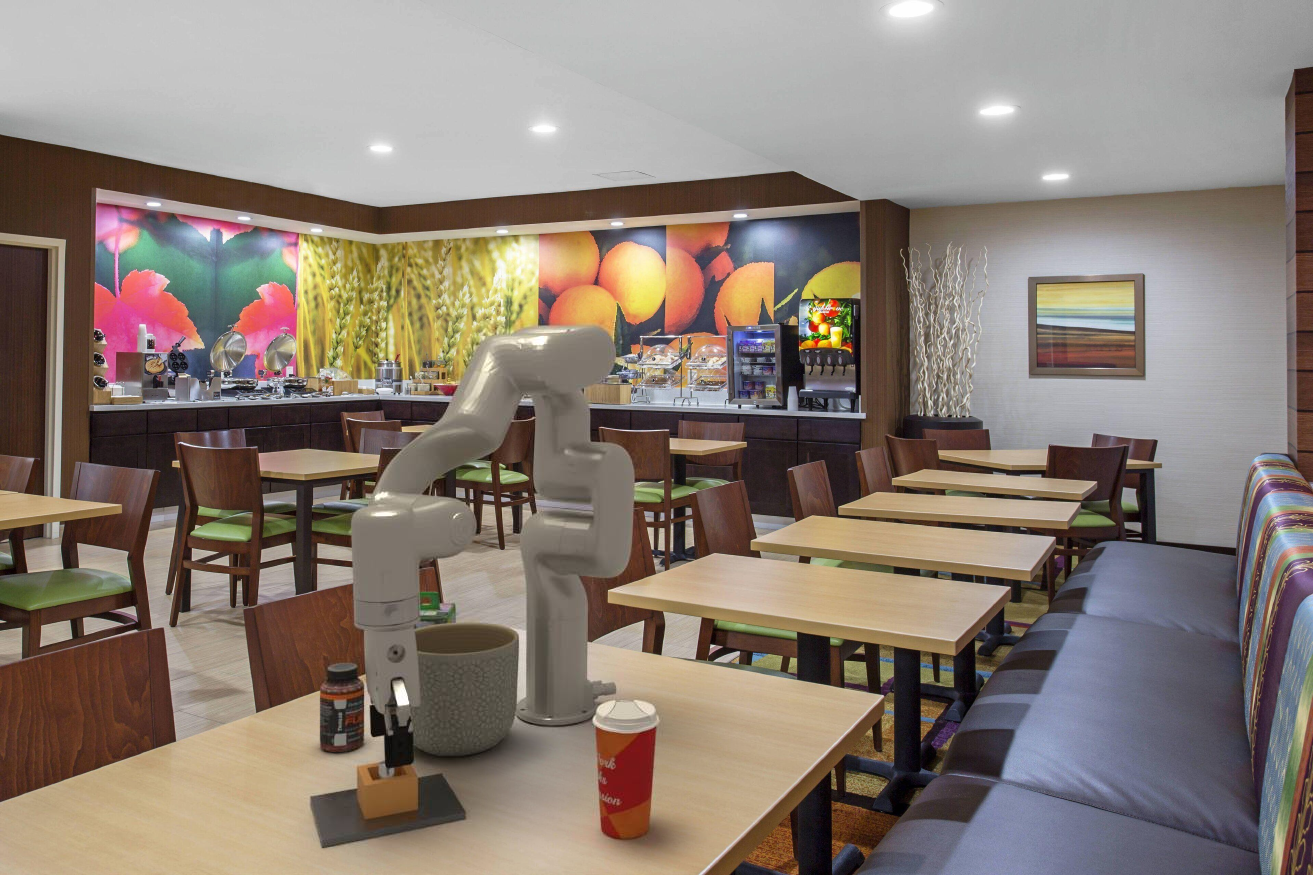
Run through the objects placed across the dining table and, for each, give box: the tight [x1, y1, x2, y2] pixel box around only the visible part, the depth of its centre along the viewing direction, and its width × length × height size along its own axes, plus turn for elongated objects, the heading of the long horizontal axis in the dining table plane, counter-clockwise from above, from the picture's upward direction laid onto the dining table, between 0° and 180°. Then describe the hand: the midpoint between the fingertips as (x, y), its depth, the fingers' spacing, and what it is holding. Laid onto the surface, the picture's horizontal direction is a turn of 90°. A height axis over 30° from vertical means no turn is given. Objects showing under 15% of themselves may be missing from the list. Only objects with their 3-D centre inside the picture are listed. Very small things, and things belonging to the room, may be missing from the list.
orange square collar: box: [356, 761, 419, 819], centre depth 110 cm, size 6×6×4 cm
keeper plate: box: [309, 760, 467, 848], centre depth 110 cm, size 16×12×6 cm
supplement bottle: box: [319, 662, 365, 753], centre depth 129 cm, size 6×6×11 cm
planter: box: [409, 621, 520, 758], centre depth 131 cm, size 17×17×15 cm
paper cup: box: [592, 699, 660, 840], centre depth 106 cm, size 8×8×14 cm
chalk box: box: [414, 591, 457, 629], centre depth 162 cm, size 9×9×15 cm
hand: (391, 749), depth 111 cm, fingers open, 9 cm apart
